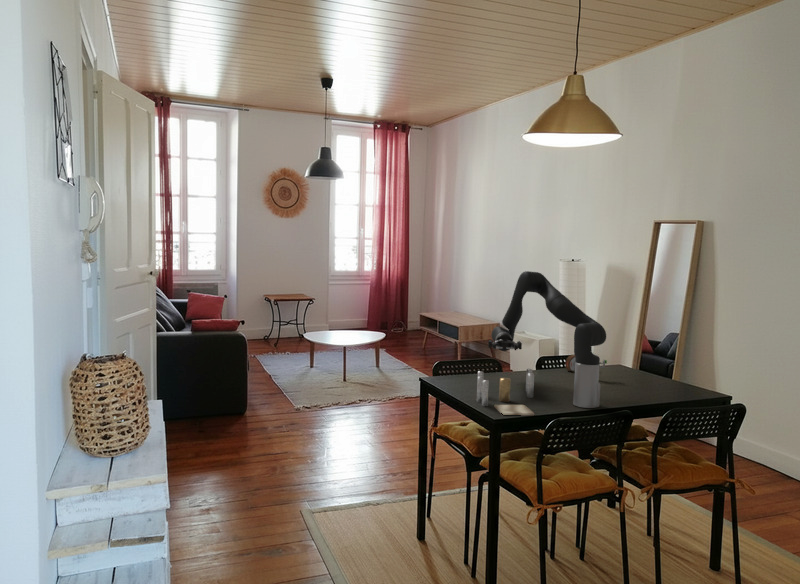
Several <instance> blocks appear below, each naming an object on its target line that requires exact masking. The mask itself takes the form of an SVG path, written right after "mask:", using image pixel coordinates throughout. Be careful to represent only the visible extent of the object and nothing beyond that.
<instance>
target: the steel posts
mask: <svg viewBox="0 0 800 584" xmlns="http://www.w3.org/2000/svg"><path fill="white" fill-rule="evenodd" d="M525 375H526V377H525V378H526V379H525V393H526V397H527V398H528V399H533V398H534V388H535V387H534V385H535V373H534V372H533V368H526V374H525ZM476 383H477V384H476V402H477V403H481V407H485V406H486V407H488V406H489V389H490V388H489V387H490V381H489V379H484V371H482V370H481V371H480V370H478V371H477V380H476Z"/></svg>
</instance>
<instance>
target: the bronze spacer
mask: <svg viewBox="0 0 800 584" xmlns="http://www.w3.org/2000/svg"><path fill="white" fill-rule="evenodd" d="M511 380H512V379H511V378H510V377H500V378H499V389H498V401H499V402H501V401H502V403H509V402H510V400H511Z"/></svg>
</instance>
